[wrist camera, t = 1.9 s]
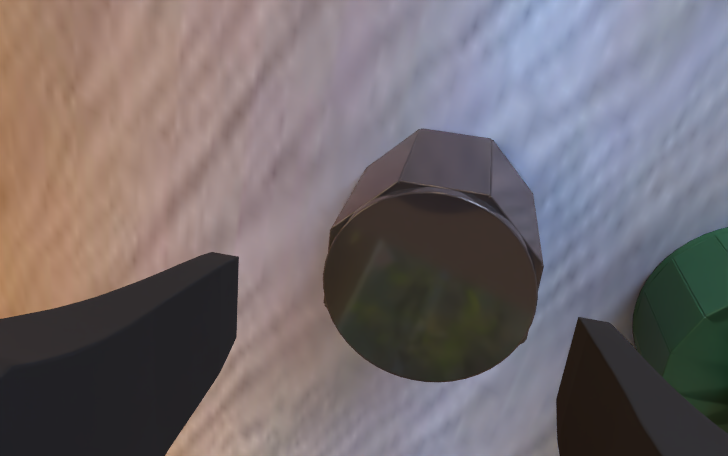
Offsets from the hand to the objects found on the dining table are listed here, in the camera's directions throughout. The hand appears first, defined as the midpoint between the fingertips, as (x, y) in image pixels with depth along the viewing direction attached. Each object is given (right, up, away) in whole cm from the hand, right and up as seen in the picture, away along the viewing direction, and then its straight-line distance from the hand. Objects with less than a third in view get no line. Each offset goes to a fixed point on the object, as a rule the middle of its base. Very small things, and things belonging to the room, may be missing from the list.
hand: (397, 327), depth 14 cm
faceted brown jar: (+2, +3, +8) cm, 8 cm away
